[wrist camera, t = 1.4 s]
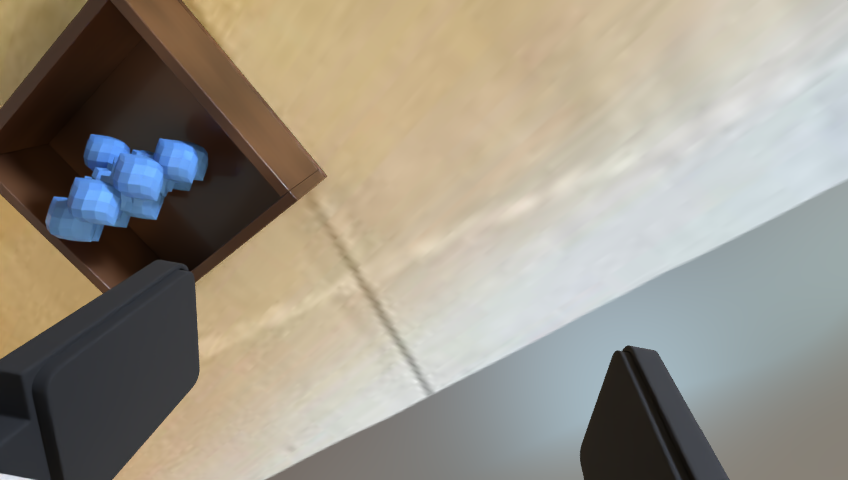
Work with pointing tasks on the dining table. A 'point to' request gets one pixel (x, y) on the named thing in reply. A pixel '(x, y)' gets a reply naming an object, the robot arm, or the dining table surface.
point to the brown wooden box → (149, 137)
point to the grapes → (123, 185)
